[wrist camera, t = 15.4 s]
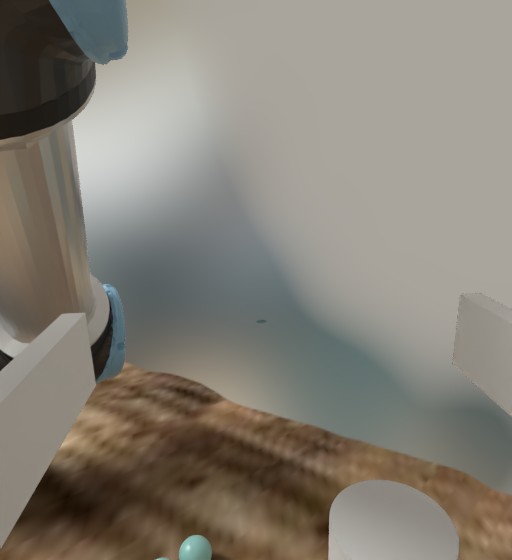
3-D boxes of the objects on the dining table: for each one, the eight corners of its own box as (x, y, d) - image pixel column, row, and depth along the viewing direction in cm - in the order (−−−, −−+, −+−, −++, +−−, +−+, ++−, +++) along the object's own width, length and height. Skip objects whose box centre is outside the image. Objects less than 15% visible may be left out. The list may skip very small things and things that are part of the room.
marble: (174, 563, 40) (172, 537, 39) (203, 546, 41) (201, 522, 40) (188, 588, 37) (186, 562, 36) (218, 570, 39) (216, 544, 38)
